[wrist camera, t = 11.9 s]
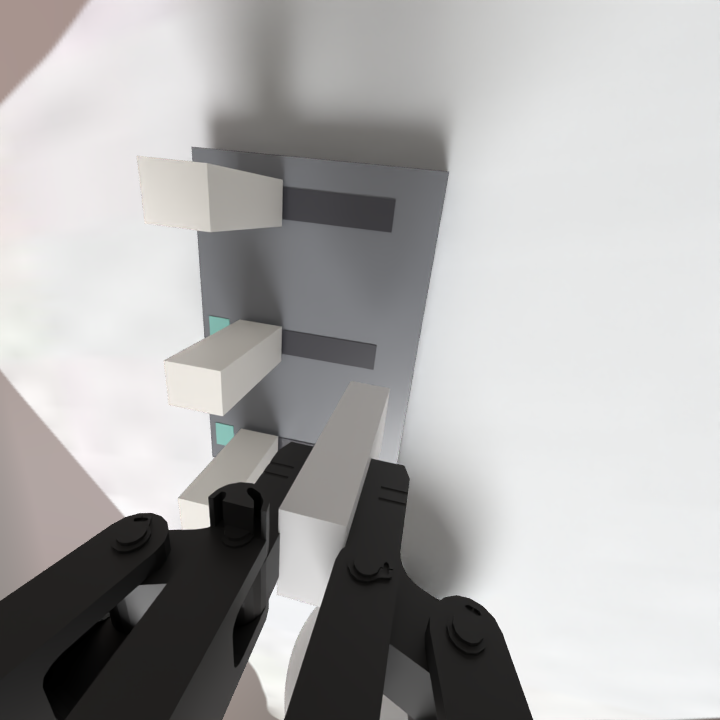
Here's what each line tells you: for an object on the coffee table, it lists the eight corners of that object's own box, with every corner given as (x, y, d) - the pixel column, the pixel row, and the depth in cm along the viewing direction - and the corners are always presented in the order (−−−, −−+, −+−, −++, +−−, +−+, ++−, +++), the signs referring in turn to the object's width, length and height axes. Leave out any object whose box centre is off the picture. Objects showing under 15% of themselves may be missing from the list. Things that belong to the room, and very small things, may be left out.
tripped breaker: (282, 326, 19) (220, 371, 14) (281, 360, 20) (222, 416, 15) (239, 319, 20) (163, 360, 14) (240, 353, 20) (168, 405, 15)
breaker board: (447, 176, 17) (449, 171, 15) (394, 475, 24) (390, 497, 22) (215, 153, 19) (191, 146, 17) (228, 439, 26) (212, 457, 24)
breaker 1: (283, 179, 17) (207, 163, 11) (282, 226, 17) (210, 232, 12) (233, 174, 17) (136, 155, 11) (235, 220, 18) (144, 223, 12)
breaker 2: (278, 436, 22) (225, 509, 17) (277, 462, 23) (227, 541, 17) (241, 428, 22) (177, 498, 17) (242, 454, 23) (181, 529, 18)
